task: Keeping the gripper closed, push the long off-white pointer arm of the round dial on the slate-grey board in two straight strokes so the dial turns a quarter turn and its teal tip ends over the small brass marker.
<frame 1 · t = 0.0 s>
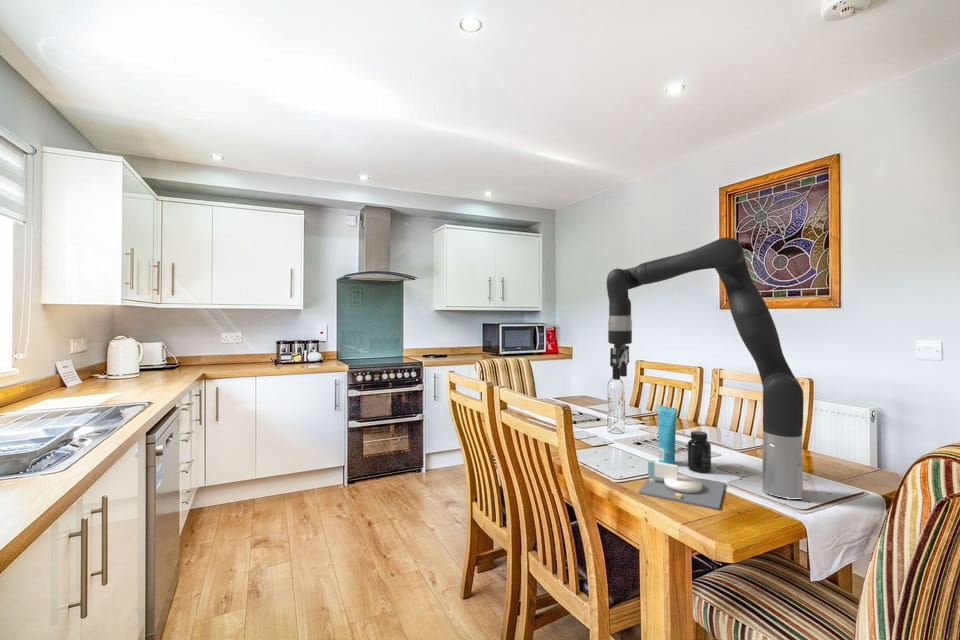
hand: (619, 377, 150), 29 cm above the table, tool pointing down, fingers open, 8 cm apart
dial board: (683, 489, 130), on the table
tube: (666, 463, 152), on the table
supplement bottle: (699, 470, 146), on the table
dial: (674, 474, 131), point 4 cm above the table, hinge at 0.0°
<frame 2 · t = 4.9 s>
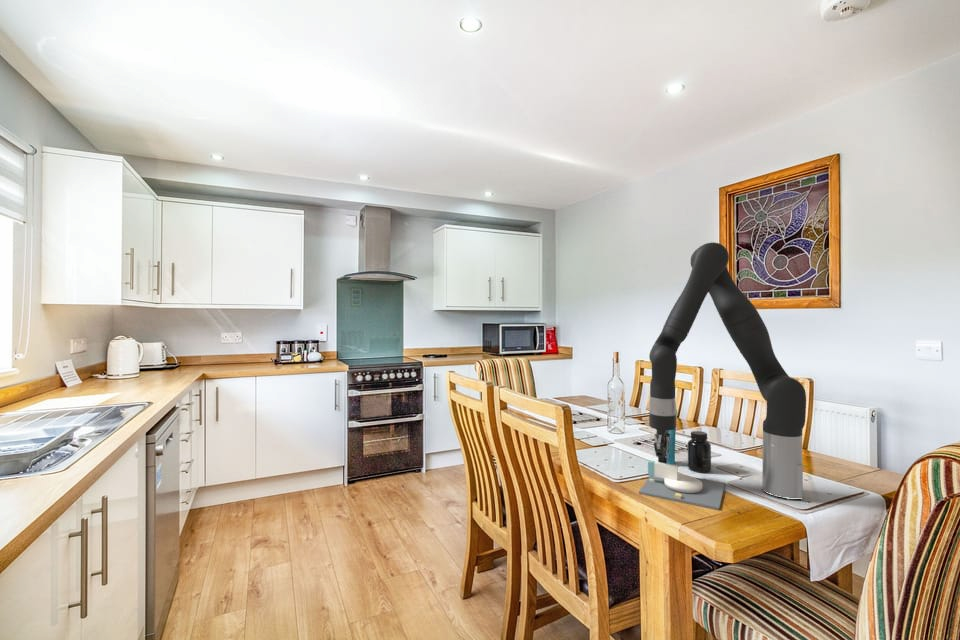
hand: (662, 468, 136), 4 cm above the table, tool pointing down, fingers closed
dial: (674, 474, 131), point 4 cm above the table, hinge at 0.7°, touching gripper
everything else where it was.
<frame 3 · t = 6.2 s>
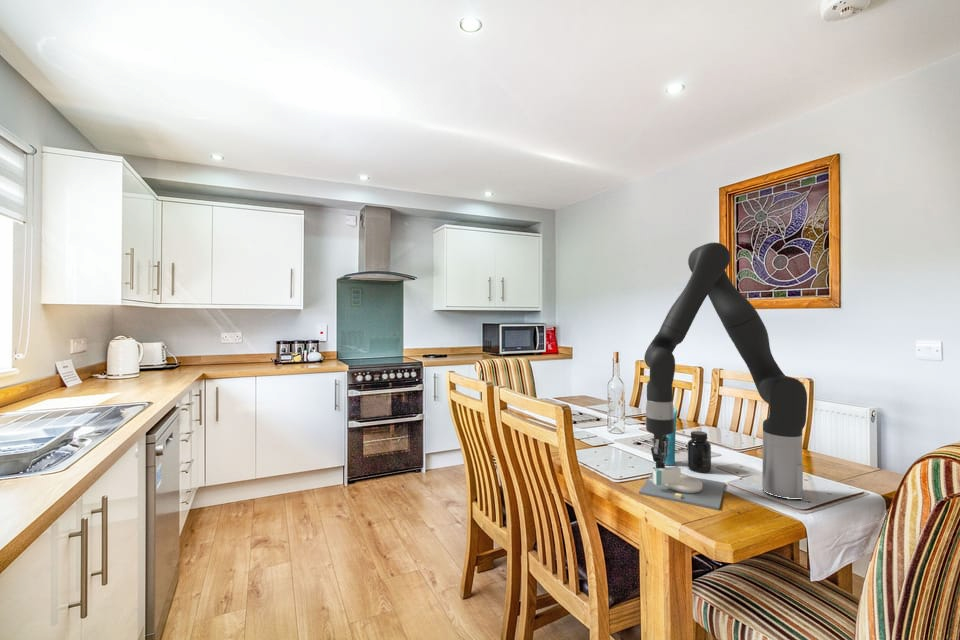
hand: (660, 474, 131), 4 cm above the table, tool pointing down, fingers closed
dial: (676, 477, 129), point 4 cm above the table, hinge at 46.9°
everything else where it was.
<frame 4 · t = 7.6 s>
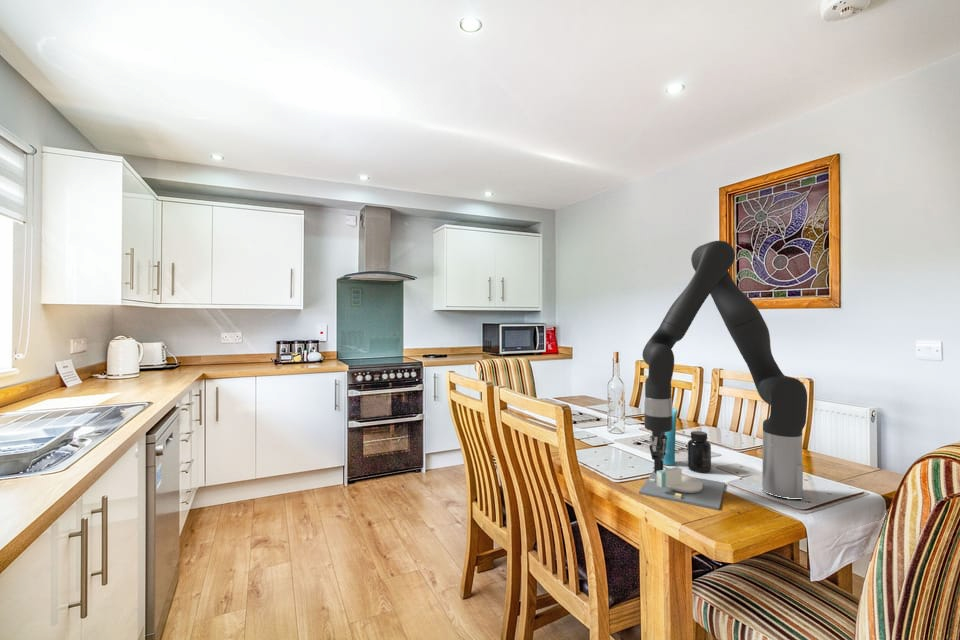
hand: (658, 472, 129), 5 cm above the table, tool pointing down, fingers closed
dial: (677, 477, 129), point 4 cm above the table, hinge at 57.9°
everything else where it was.
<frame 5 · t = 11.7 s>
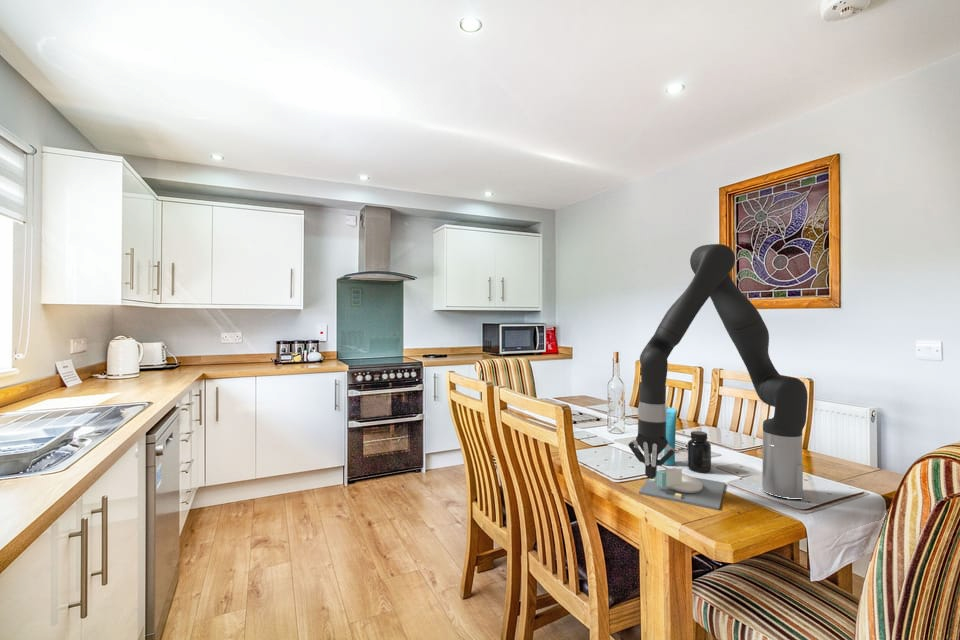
hand: (650, 478, 129), 4 cm above the table, tool pointing down, fingers closed
dial: (677, 477, 129), point 4 cm above the table, hinge at 58.7°, touching gripper
everything else where it was.
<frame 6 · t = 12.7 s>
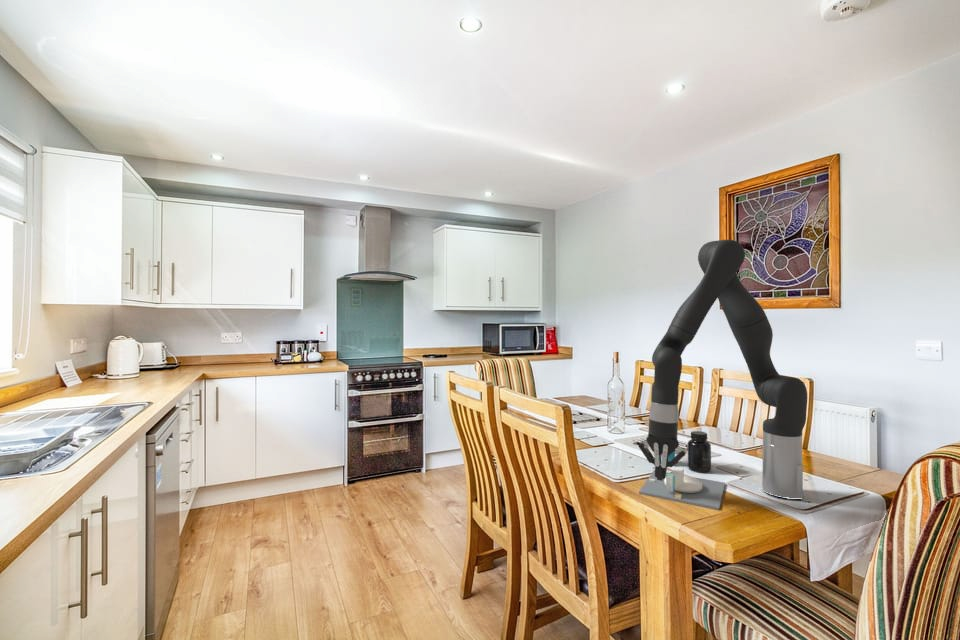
hand: (660, 479, 127), 4 cm above the table, tool pointing down, fingers closed
dial: (679, 478, 128), point 4 cm above the table, hinge at 77.0°, touching gripper
everything else where it was.
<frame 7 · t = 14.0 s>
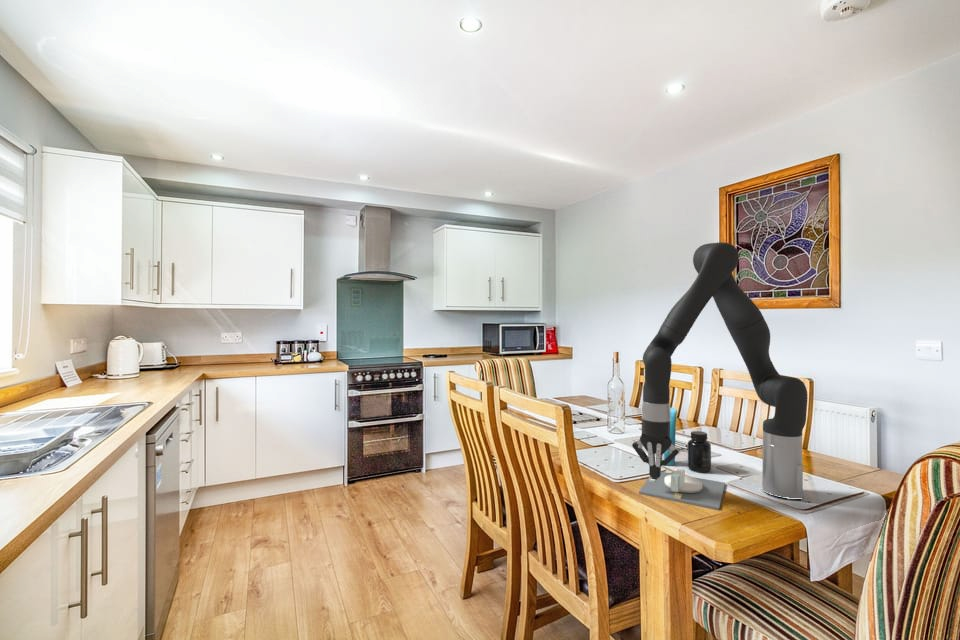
hand: (655, 478, 127), 4 cm above the table, tool pointing down, fingers closed
dial: (681, 478, 128), point 4 cm above the table, hinge at 85.1°
everything else where it was.
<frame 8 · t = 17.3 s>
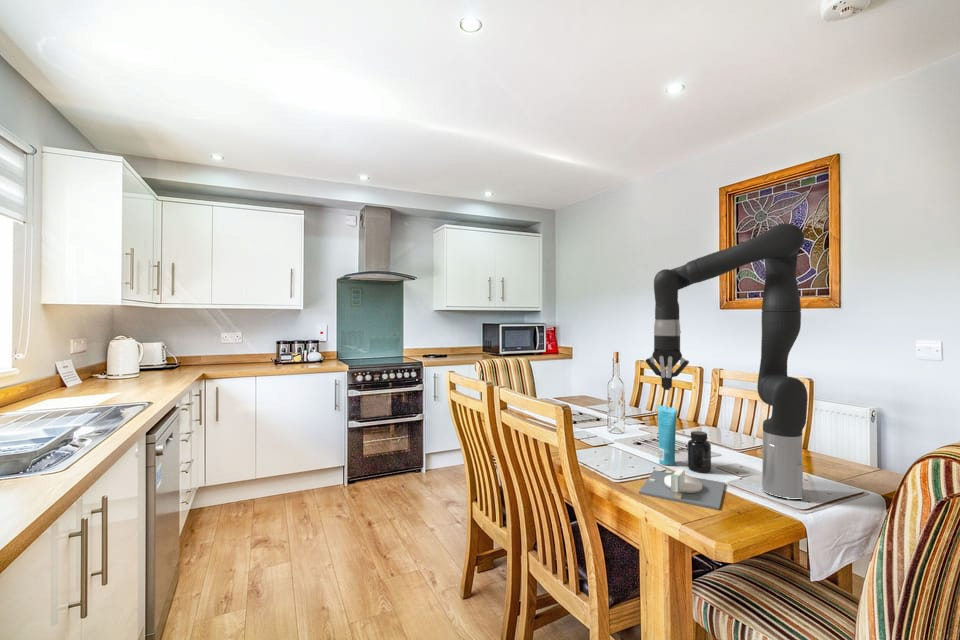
hand: (666, 389, 140), 27 cm above the table, tool pointing down, fingers closed
nothing on the table moved.
at the end: dial at +85° (first picture: +0°) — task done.
